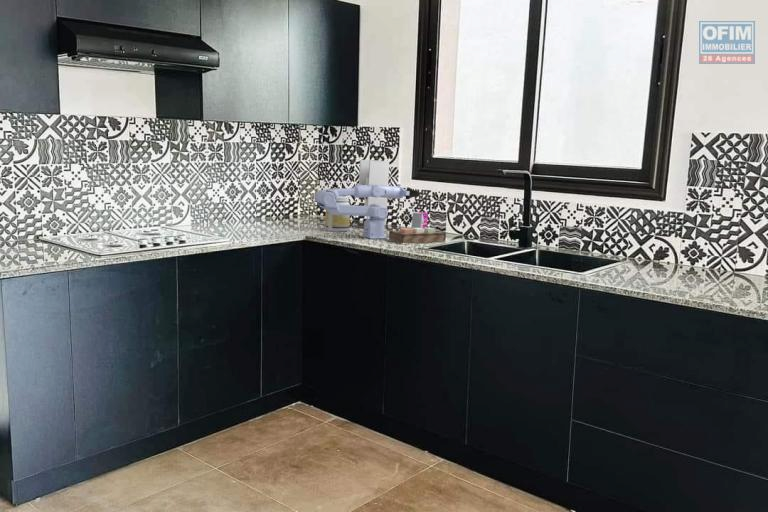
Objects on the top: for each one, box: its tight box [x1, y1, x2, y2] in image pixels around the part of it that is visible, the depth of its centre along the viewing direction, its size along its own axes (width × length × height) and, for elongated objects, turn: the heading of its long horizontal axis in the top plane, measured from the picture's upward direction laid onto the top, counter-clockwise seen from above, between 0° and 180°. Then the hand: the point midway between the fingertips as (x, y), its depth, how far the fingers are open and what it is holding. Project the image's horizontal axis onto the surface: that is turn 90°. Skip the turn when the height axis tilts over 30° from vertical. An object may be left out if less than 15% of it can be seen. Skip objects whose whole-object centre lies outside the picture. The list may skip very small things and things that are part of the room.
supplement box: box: [411, 211, 429, 229], centre depth 343 cm, size 6×6×12 cm
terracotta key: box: [399, 227, 413, 233], centre depth 320 cm, size 4×4×4 cm
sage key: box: [423, 226, 437, 233], centre depth 327 cm, size 4×4×4 cm
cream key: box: [410, 227, 424, 233], centre depth 324 cm, size 4×4×4 cm
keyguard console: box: [388, 230, 447, 244], centre depth 324 cm, size 24×12×4 cm, turn 122°
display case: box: [356, 159, 390, 230], centre depth 358 cm, size 11×11×35 cm
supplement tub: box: [324, 196, 351, 233], centre depth 344 cm, size 12×12×17 cm
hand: (414, 193), depth 334 cm, fingers open, 7 cm apart
